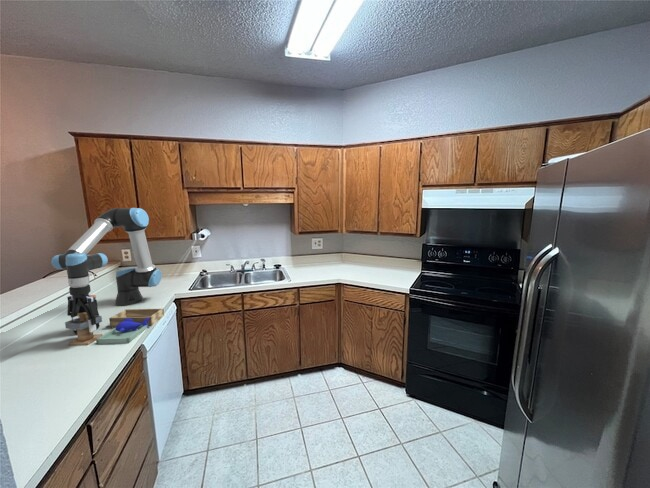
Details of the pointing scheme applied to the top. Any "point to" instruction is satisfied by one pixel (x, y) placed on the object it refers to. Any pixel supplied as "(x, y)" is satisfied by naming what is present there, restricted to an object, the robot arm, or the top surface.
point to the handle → (84, 333)
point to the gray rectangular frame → (80, 323)
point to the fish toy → (130, 325)
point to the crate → (137, 316)
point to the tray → (120, 336)
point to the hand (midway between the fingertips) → (85, 330)
